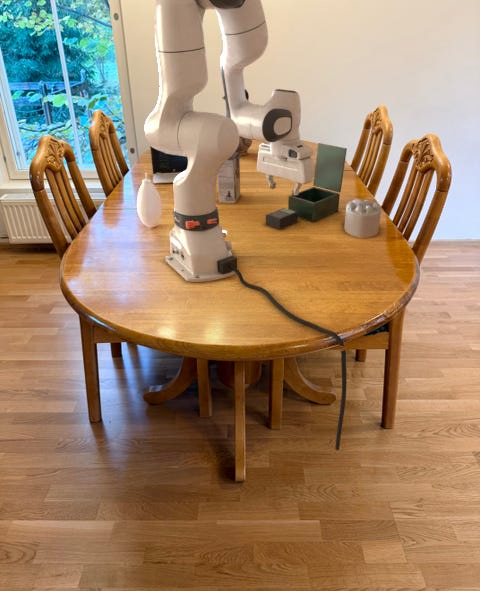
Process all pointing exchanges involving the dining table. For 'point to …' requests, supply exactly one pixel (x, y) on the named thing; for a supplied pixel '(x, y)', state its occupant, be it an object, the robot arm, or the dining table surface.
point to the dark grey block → (281, 218)
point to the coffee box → (229, 180)
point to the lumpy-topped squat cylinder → (362, 218)
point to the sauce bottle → (149, 204)
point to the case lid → (329, 167)
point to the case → (314, 203)
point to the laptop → (166, 166)
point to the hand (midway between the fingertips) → (283, 191)
